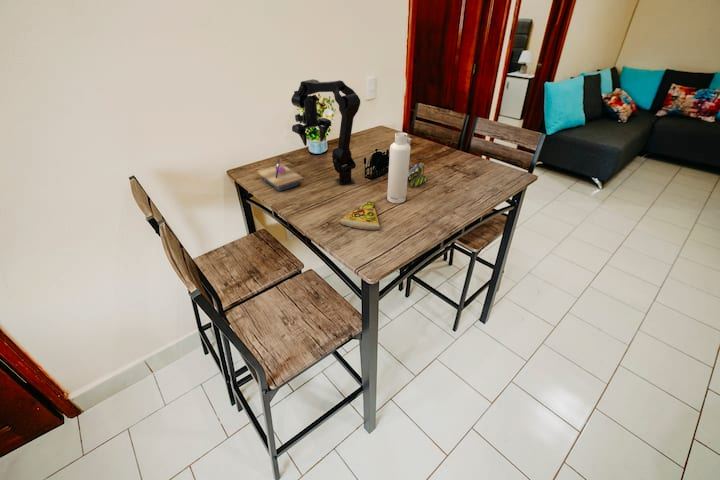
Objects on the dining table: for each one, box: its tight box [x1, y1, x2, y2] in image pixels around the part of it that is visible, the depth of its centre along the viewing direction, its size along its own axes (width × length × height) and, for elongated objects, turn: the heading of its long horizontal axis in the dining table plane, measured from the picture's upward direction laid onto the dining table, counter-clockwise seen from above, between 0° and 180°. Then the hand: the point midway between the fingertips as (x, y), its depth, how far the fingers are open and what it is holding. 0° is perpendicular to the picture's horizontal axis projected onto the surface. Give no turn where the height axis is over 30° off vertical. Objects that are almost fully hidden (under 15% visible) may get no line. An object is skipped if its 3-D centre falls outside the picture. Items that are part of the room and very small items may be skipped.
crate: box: [262, 177, 300, 192], centre depth 157 cm, size 16×10×3 cm, turn 40°
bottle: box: [386, 131, 412, 204], centre depth 137 cm, size 8×8×28 cm
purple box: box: [276, 156, 286, 178], centre depth 154 cm, size 7×5×9 cm
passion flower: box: [407, 162, 429, 188], centre depth 156 cm, size 11×11×12 cm
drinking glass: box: [407, 136, 412, 146], centre depth 180 cm, size 7×7×10 cm
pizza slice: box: [340, 200, 381, 231], centre depth 133 cm, size 16×21×3 cm
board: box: [256, 163, 304, 188], centre depth 156 cm, size 20×13×1 cm, turn 40°
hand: (313, 143), depth 163 cm, fingers open, 9 cm apart
